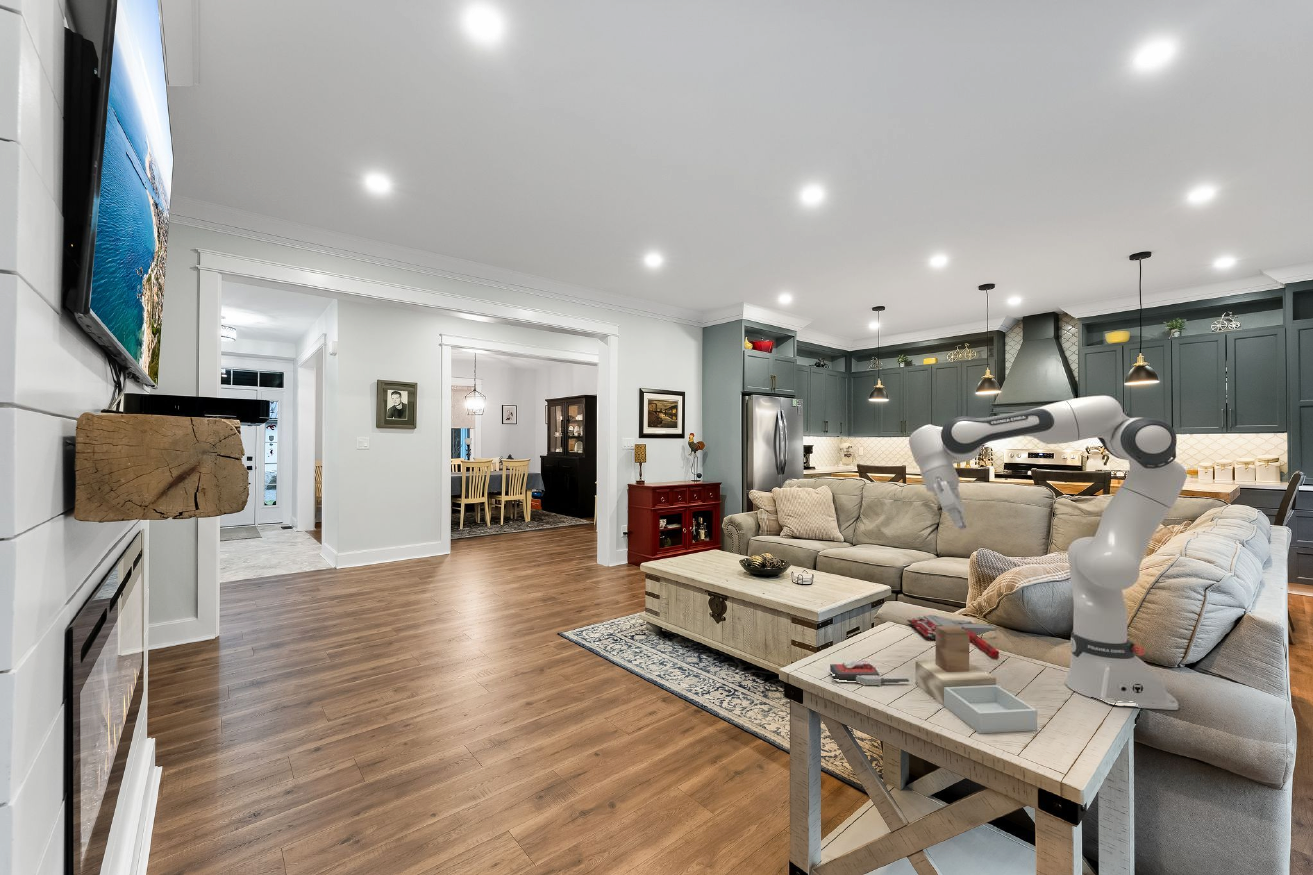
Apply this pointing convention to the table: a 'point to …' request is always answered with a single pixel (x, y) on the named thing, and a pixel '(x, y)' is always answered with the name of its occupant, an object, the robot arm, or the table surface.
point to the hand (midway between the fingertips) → (961, 527)
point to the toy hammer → (930, 622)
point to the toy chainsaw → (860, 673)
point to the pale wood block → (948, 678)
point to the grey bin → (990, 709)
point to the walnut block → (952, 648)
